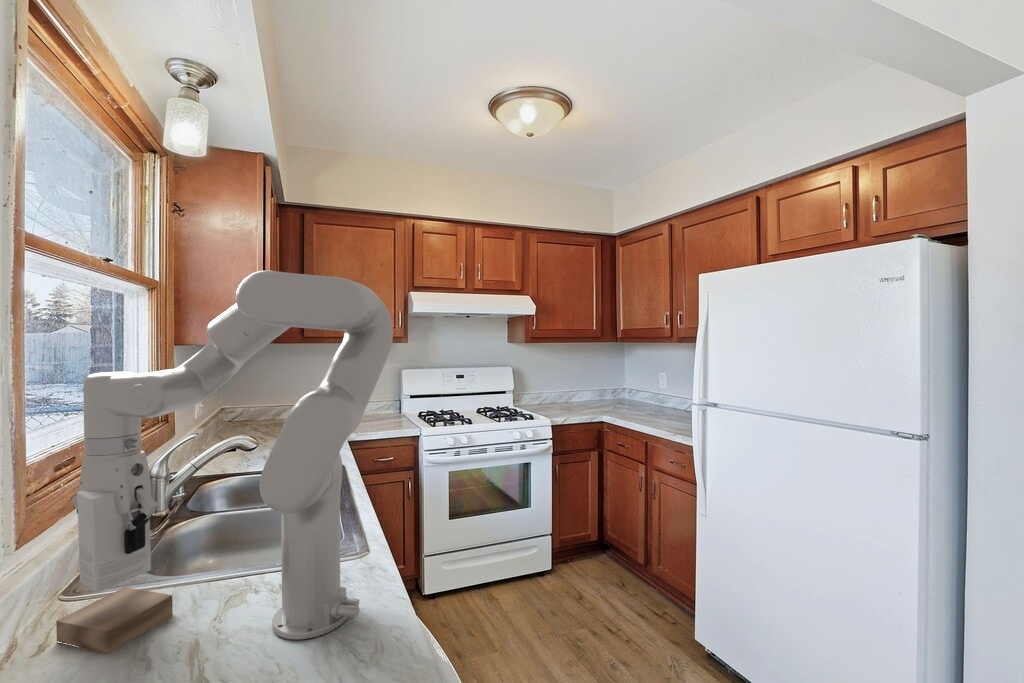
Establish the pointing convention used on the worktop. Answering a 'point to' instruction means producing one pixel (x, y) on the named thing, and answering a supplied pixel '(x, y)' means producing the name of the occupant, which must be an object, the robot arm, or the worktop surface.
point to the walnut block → (114, 619)
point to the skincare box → (107, 543)
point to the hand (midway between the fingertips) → (114, 547)
